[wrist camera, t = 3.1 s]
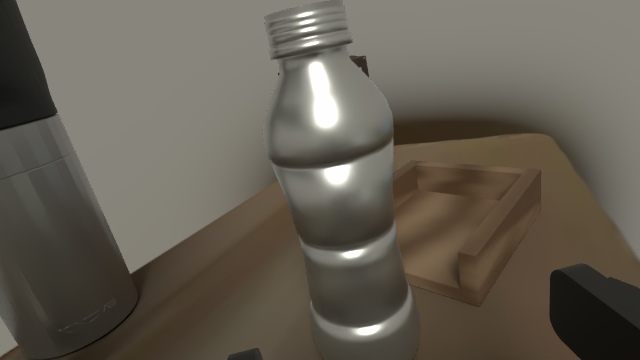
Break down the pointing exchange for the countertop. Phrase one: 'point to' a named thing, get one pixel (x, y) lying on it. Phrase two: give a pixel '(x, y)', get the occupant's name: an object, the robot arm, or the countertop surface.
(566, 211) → the countertop surface
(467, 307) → the countertop surface
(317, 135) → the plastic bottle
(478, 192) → the walnut bay
